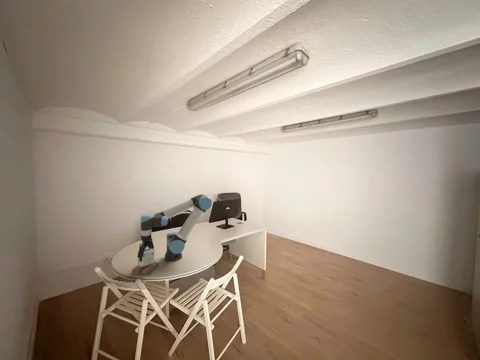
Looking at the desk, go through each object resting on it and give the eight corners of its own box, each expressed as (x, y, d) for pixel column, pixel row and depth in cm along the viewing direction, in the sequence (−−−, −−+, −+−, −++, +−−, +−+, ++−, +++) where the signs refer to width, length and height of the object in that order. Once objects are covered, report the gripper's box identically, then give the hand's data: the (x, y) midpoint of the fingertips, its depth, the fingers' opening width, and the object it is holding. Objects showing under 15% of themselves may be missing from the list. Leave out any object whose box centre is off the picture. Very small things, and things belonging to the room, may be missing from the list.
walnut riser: (159, 265, 163) (159, 262, 163) (149, 274, 149) (149, 270, 149) (143, 264, 165) (143, 261, 164) (132, 273, 151) (132, 269, 150)
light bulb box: (150, 260, 163) (150, 247, 163) (154, 262, 159) (154, 249, 158) (137, 265, 155) (137, 251, 154) (141, 267, 150) (141, 253, 150)
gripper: (150, 230, 168) (150, 254, 169) (131, 239, 144) (131, 268, 145) (158, 230, 167) (158, 255, 168) (141, 240, 143) (141, 269, 144)
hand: (146, 261), depth 157 cm, fingers closed on light bulb box, 12 cm apart
